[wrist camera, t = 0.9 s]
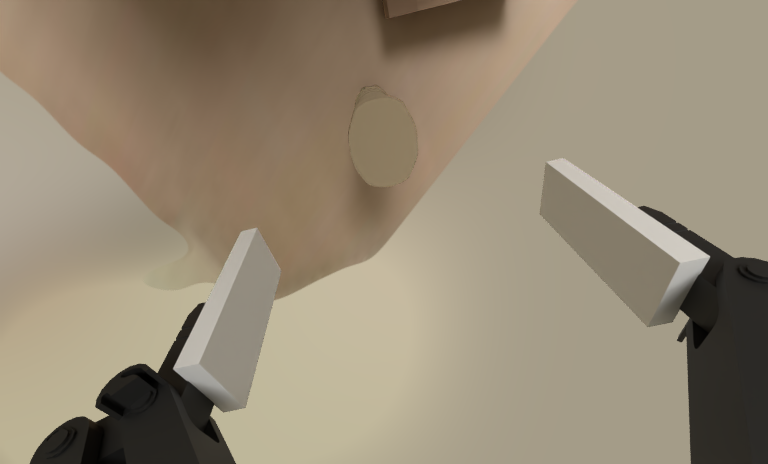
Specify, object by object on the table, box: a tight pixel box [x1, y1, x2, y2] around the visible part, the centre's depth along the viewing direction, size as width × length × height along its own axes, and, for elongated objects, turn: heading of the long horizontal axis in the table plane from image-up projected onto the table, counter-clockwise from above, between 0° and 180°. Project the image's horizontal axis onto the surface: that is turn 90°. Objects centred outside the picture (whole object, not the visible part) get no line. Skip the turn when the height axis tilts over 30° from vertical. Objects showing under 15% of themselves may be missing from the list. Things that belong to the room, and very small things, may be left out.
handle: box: [348, 85, 418, 187], centre depth 28 cm, size 5×6×15 cm
